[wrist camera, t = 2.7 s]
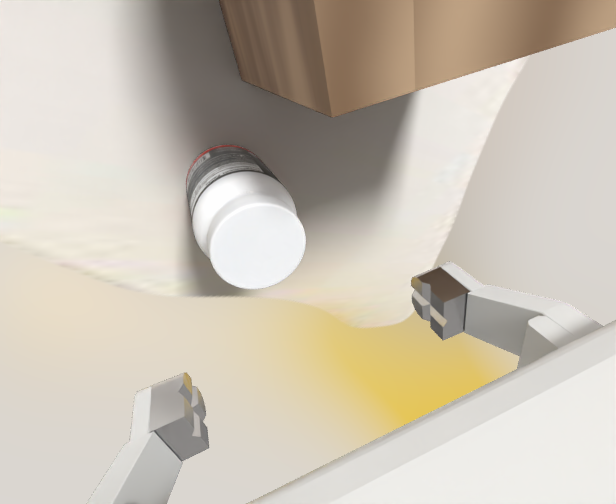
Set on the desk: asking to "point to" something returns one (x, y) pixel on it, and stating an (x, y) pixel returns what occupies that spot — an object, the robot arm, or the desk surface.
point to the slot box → (392, 43)
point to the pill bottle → (243, 218)
